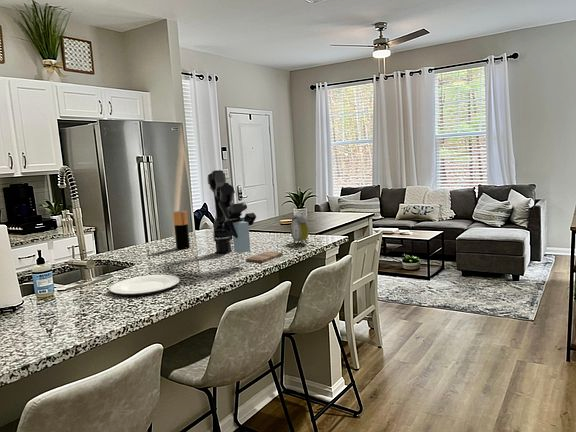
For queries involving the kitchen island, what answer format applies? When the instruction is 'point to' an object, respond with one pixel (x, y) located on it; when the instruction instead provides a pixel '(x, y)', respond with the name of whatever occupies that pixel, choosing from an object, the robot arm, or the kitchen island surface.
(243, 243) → the slate-blue post
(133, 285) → the plate
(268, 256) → the tan flat board
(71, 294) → the kitchen island surface
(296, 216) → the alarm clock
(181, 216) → the battery
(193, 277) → the kitchen island surface
